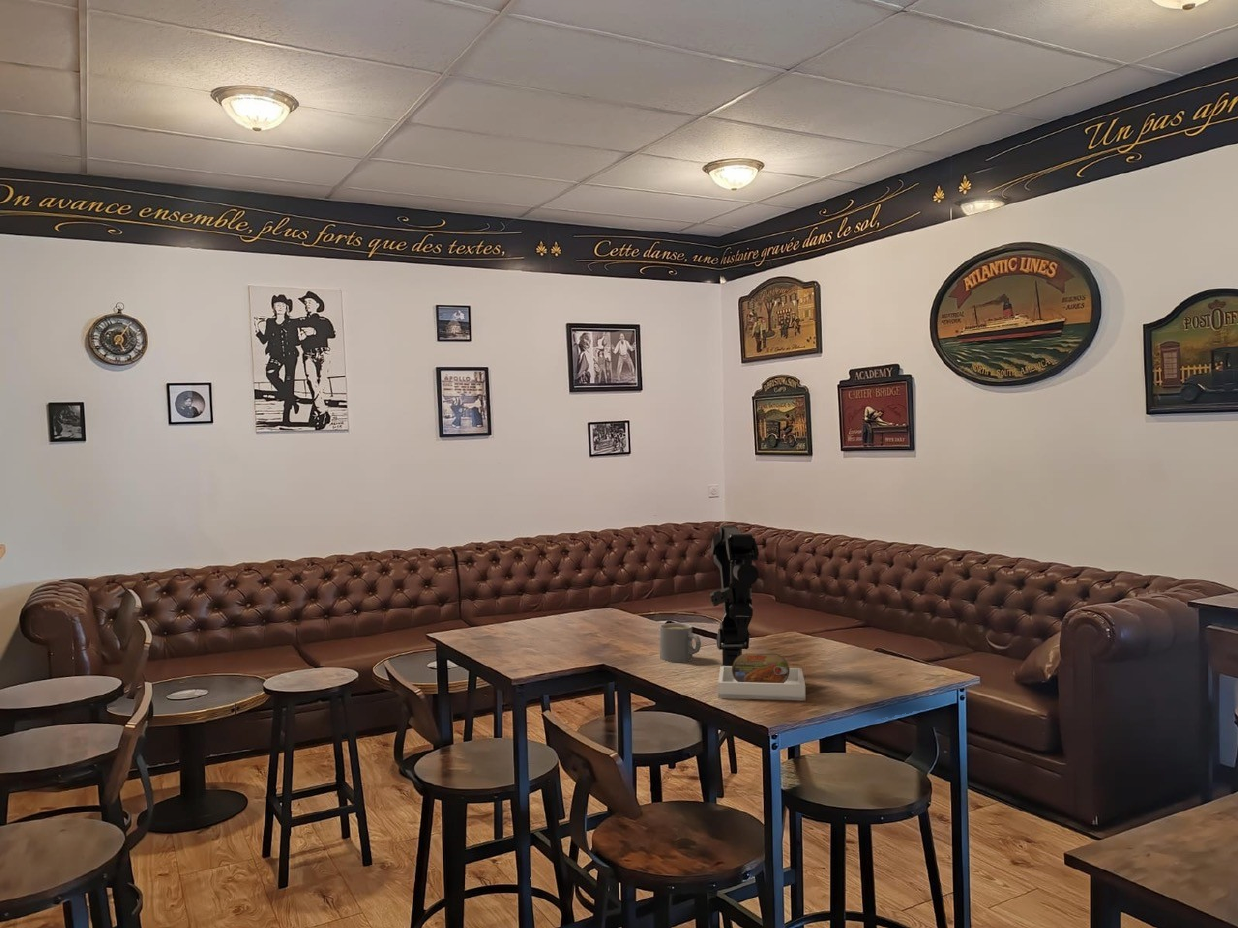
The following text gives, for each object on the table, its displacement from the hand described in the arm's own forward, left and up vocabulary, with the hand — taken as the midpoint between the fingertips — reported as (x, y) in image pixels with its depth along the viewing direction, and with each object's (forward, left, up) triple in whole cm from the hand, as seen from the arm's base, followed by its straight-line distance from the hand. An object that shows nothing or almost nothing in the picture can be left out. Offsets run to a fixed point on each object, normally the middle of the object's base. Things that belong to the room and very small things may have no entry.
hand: (740, 635), depth 248 cm
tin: (+8, +5, -12) cm, 15 cm away
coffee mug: (-25, -19, -13) cm, 34 cm away
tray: (+8, +5, -13) cm, 16 cm away
